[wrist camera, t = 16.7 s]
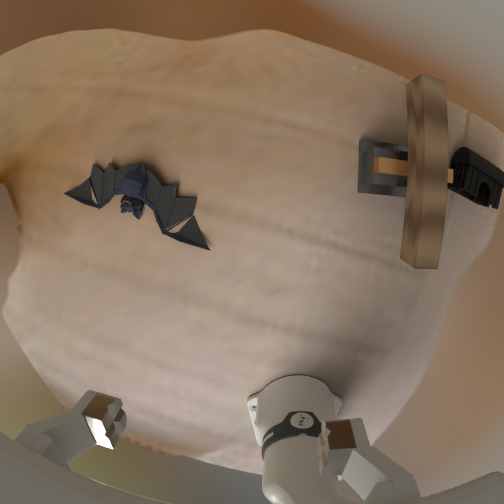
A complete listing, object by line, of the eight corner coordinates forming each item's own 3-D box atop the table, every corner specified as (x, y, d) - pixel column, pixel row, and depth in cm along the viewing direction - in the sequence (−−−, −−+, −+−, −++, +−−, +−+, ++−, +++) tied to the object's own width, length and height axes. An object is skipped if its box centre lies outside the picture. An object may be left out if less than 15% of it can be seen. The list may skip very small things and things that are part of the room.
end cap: (488, 170, 40) (511, 171, 33) (480, 206, 42) (503, 210, 35) (451, 147, 40) (472, 145, 33) (442, 185, 42) (464, 187, 35)
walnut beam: (405, 84, 31) (421, 74, 26) (427, 89, 31) (444, 80, 26) (399, 258, 37) (414, 268, 32) (421, 259, 37) (437, 269, 32)
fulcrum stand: (428, 199, 42) (453, 204, 35) (357, 192, 43) (373, 195, 35) (430, 152, 40) (456, 149, 33) (359, 141, 41) (375, 133, 34)
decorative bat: (227, 194, 41) (206, 258, 44) (232, 190, 45) (212, 249, 48) (66, 142, 41) (56, 198, 44) (80, 142, 44) (70, 194, 48)
